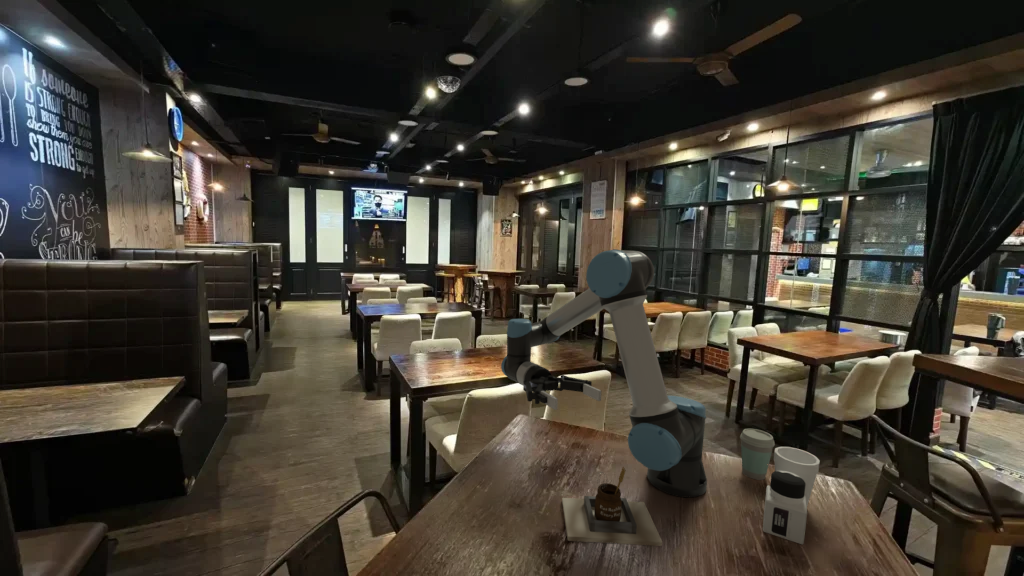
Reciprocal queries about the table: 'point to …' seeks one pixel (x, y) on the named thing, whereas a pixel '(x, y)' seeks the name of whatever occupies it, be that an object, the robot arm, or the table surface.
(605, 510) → the utensil holder
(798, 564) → the table surface
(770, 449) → the coffee cup
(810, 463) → the foam cup
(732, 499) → the table surface
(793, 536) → the container
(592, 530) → the collar board
